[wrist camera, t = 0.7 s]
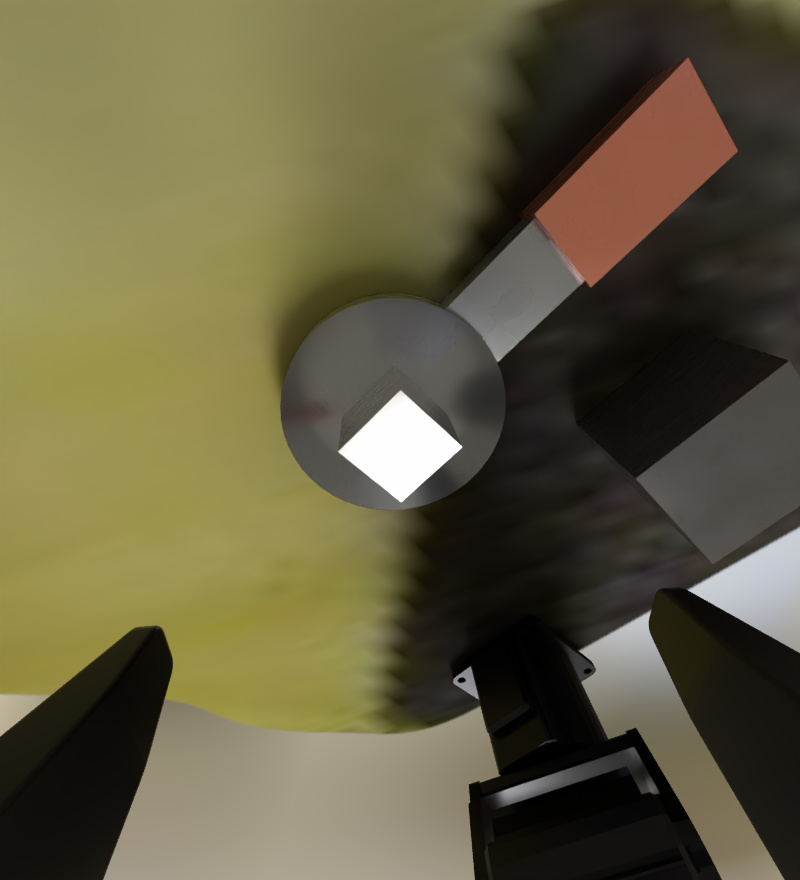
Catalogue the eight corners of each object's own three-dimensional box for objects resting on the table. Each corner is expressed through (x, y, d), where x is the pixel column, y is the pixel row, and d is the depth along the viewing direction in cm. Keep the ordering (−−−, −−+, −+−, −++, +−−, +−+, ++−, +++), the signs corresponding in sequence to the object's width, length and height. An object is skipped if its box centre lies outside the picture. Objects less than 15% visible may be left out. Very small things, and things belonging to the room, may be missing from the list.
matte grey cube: (750, 418, 21) (854, 468, 17) (643, 497, 23) (712, 564, 18) (688, 329, 19) (789, 360, 15) (576, 424, 21) (635, 478, 16)
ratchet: (608, -3, 14) (715, -104, 10) (734, 218, 17) (858, 215, 13) (243, 404, 19) (209, 456, 15) (393, 520, 22) (401, 591, 18)
